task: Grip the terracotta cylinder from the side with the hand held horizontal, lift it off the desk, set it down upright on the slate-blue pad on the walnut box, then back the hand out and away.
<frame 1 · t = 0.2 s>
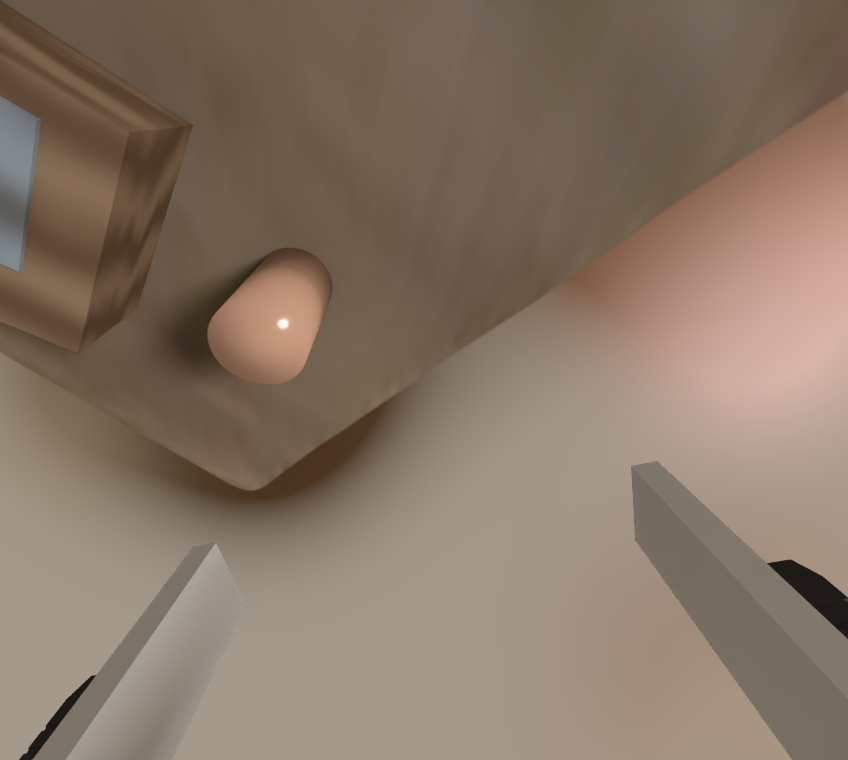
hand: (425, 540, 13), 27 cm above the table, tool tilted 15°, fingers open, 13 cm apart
terracotta cylinder: (296, 283, 36), on the table
walnut box: (33, 157, 30), on the table
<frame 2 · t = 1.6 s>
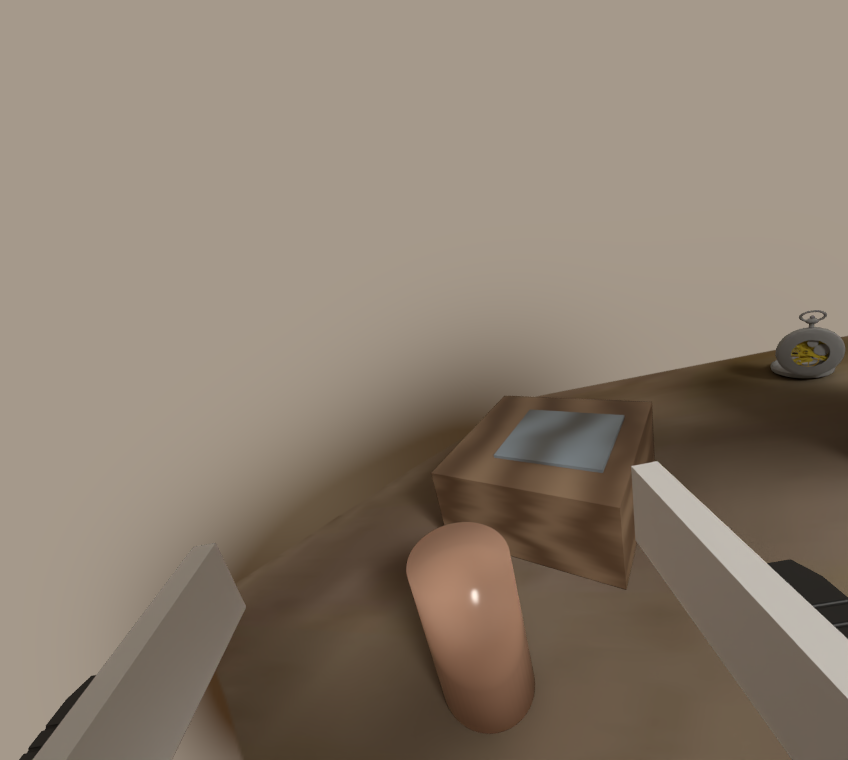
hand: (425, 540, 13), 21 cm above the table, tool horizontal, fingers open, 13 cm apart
pocket watch: (801, 376, 56), on the table
terracotta cylinder: (488, 680, 28), on the table
walnut box: (554, 500, 44), on the table
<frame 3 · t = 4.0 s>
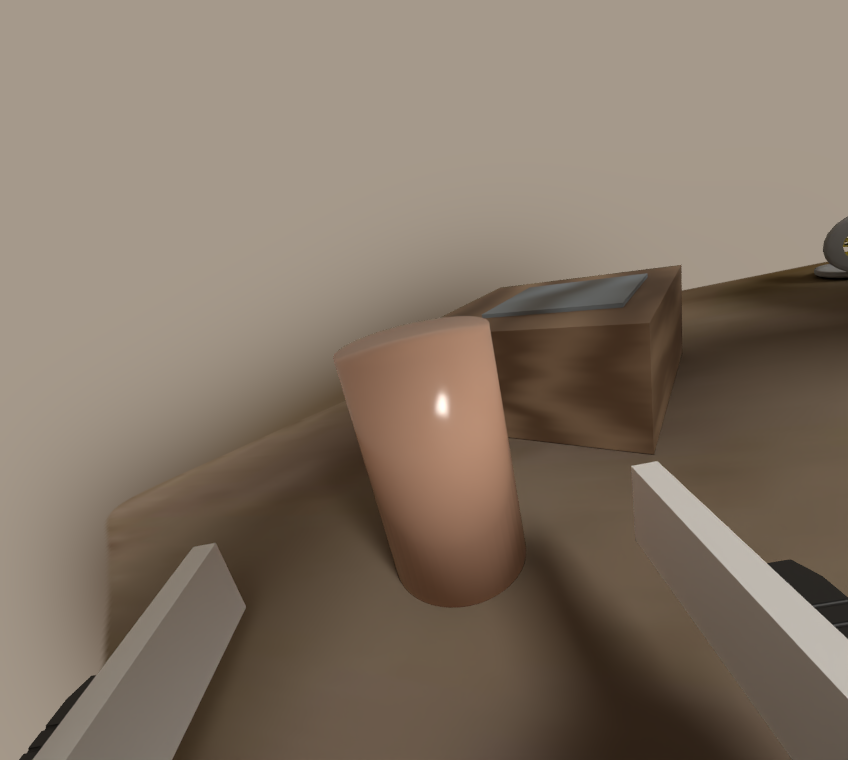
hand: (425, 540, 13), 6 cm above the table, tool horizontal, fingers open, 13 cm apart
terracotta cylinder: (459, 550, 20), on the table
walnut box: (558, 388, 35), on the table
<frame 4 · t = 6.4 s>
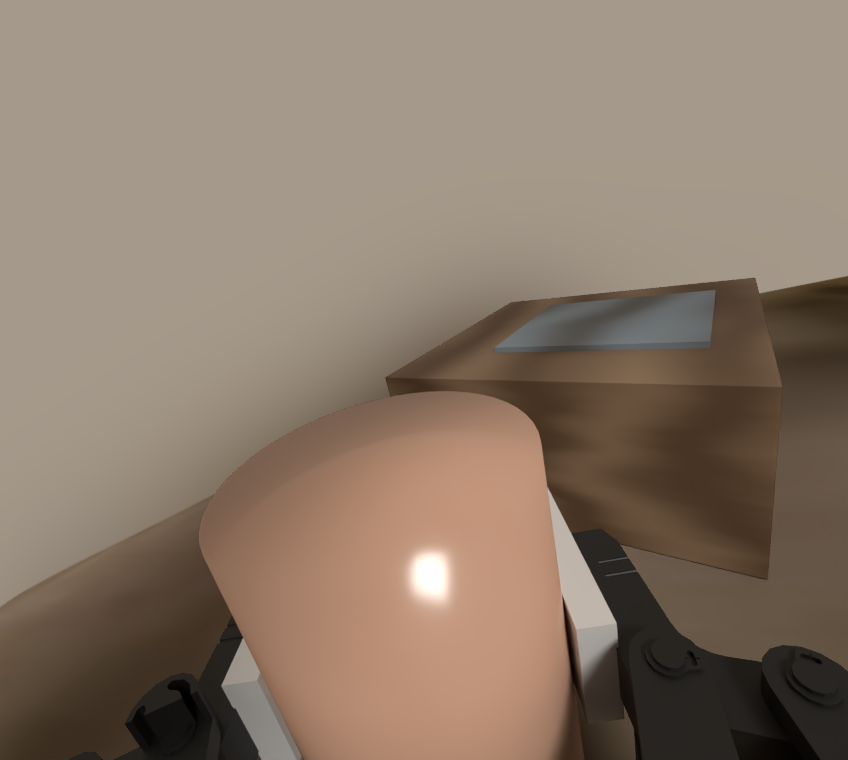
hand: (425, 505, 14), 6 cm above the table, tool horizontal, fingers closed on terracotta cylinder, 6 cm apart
walnut box: (592, 439, 27), on the table
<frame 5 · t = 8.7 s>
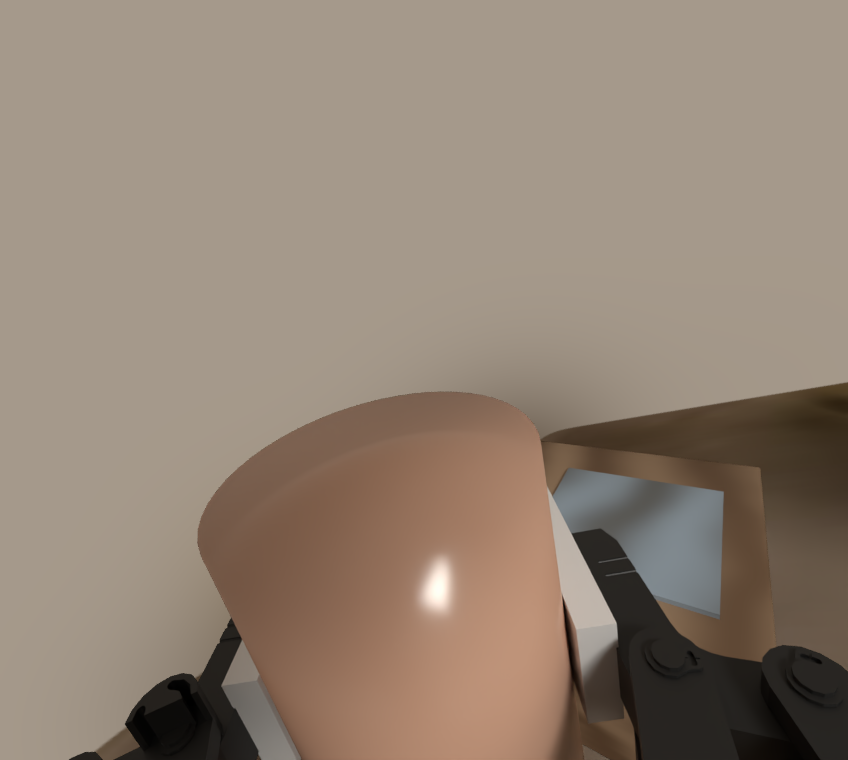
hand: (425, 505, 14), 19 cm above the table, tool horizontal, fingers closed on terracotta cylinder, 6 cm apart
walnut box: (607, 609, 29), on the table
when the fingers open (16 cm above the table, at t = 11.0 s): terracotta cylinder drops 2 cm, resting on walnut box.
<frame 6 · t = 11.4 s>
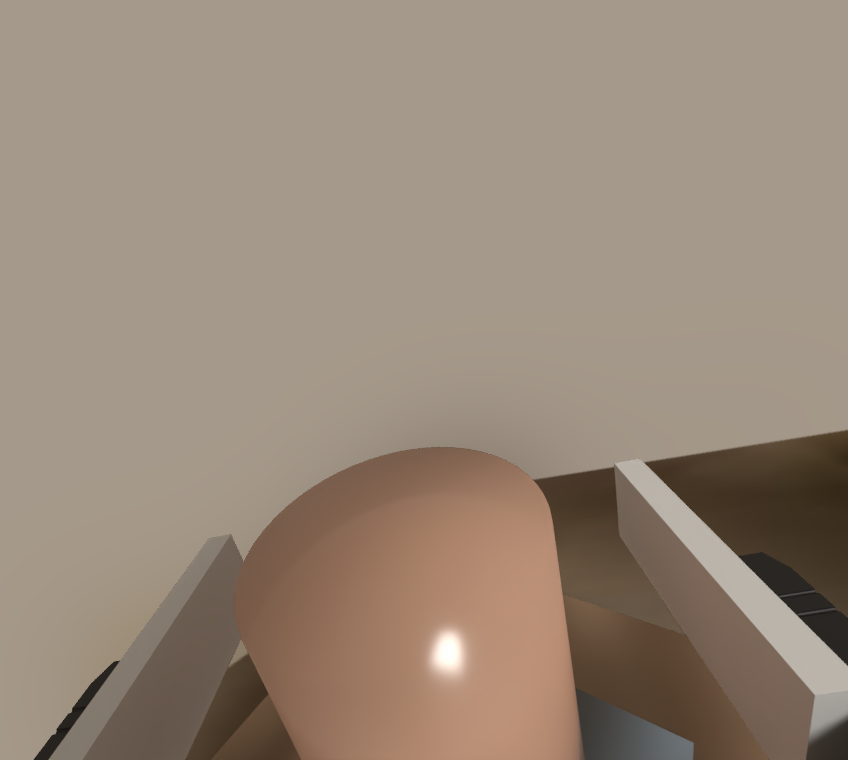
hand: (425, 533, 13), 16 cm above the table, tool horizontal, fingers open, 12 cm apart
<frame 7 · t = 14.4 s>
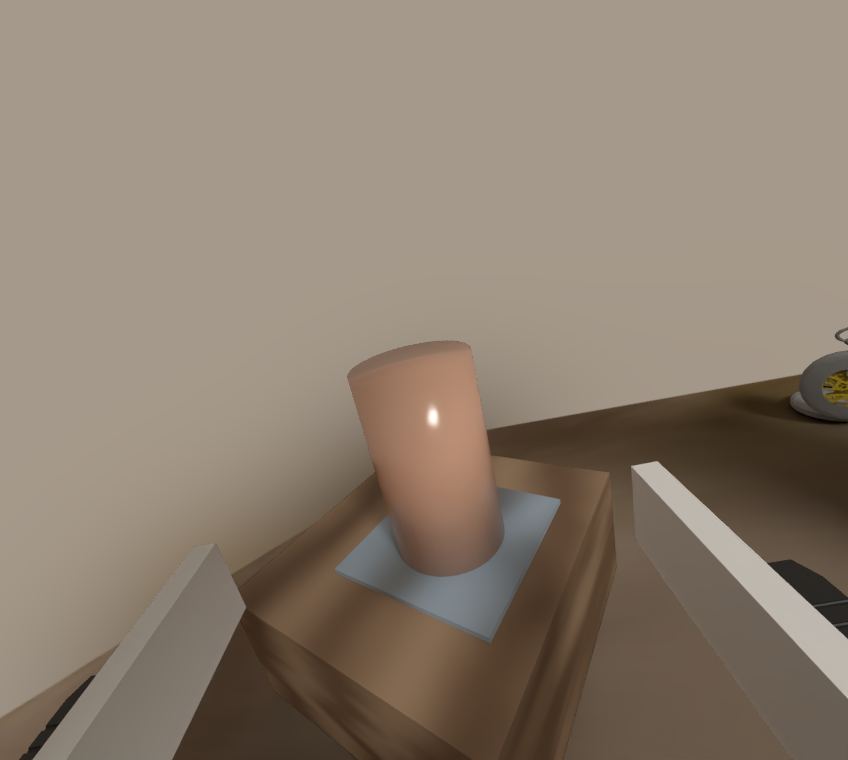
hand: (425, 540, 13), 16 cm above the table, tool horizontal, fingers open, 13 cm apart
pocket watch: (833, 417, 40), on the table
terracotta cylinder: (450, 533, 24), point 8 cm above the table, touching walnut box
walnut box: (455, 624, 28), on the table
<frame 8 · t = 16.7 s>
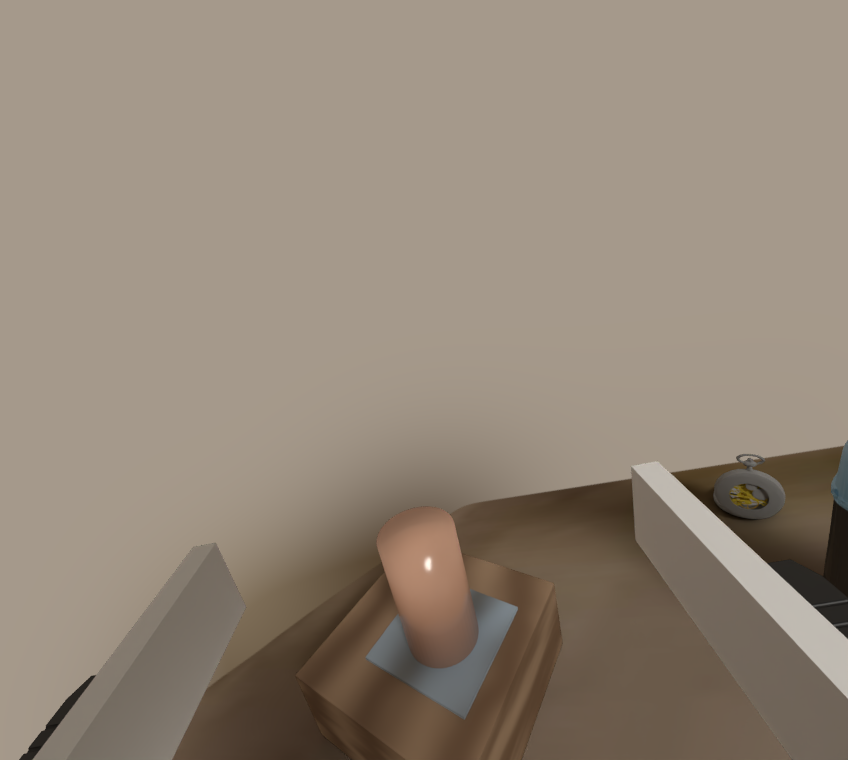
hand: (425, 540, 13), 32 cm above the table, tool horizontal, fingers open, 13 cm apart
pocket watch: (743, 511, 52), on the table
terracotta cylinder: (442, 631, 36), point 8 cm above the table, touching walnut box
walnut box: (446, 687, 39), on the table
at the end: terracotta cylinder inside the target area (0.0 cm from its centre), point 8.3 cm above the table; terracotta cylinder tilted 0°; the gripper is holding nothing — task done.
